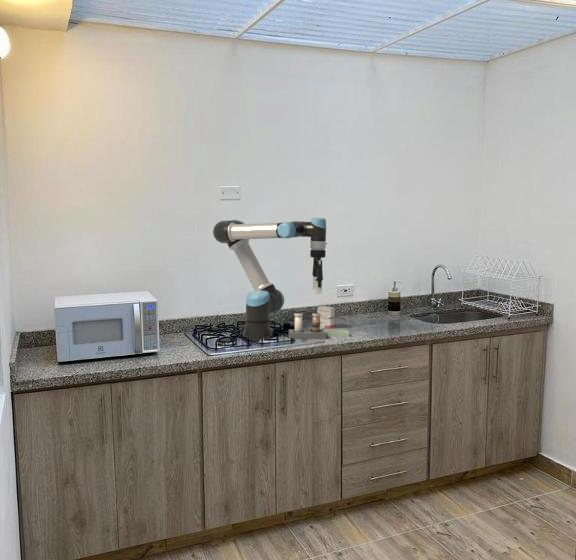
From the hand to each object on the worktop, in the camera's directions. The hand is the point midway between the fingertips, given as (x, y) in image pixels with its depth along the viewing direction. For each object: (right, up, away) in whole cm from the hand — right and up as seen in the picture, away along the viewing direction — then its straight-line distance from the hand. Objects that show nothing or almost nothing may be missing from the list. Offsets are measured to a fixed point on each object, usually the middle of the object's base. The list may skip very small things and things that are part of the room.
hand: (317, 291), depth 302 cm
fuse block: (-5, -24, +3) cm, 25 cm away
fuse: (-9, -23, +2) cm, 25 cm away
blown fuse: (0, -23, +3) cm, 23 cm away
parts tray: (+11, -23, +9) cm, 27 cm away
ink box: (+6, -21, +28) cm, 35 cm away
